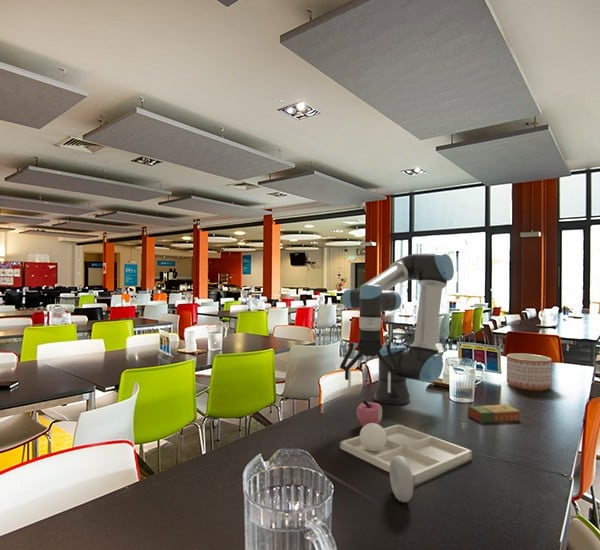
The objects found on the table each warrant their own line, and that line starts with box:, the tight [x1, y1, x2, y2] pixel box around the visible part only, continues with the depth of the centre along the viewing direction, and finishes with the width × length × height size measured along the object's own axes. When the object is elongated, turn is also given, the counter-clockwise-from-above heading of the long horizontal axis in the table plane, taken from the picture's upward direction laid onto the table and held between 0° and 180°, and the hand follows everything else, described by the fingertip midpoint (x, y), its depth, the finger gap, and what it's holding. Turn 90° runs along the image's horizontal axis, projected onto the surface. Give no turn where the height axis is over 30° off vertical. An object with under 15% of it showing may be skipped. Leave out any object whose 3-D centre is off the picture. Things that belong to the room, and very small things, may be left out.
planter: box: [506, 353, 553, 392], centre depth 205 cm, size 19×19×15 cm
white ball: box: [359, 423, 387, 452], centre depth 125 cm, size 8×8×8 cm
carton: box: [467, 403, 521, 424], centre depth 158 cm, size 8×16×4 cm, turn 99°
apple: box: [356, 400, 383, 428], centre depth 145 cm, size 10×9×10 cm
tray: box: [339, 423, 473, 486], centre depth 124 cm, size 27×27×2 cm
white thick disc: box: [389, 455, 414, 503], centre depth 99 cm, size 10×4×10 cm, turn 5°
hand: (369, 390), depth 145 cm, fingers open, 13 cm apart
